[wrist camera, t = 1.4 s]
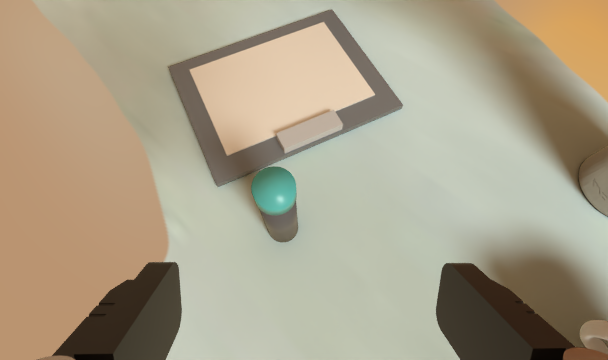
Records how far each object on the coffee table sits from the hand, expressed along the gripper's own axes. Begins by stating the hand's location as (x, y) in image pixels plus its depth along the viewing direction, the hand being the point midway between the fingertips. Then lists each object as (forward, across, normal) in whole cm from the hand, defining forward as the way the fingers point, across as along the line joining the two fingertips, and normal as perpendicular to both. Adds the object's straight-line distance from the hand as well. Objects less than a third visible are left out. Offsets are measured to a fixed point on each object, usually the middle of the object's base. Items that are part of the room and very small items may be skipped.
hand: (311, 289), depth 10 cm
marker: (+26, +1, +9) cm, 28 cm away
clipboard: (+39, +1, -6) cm, 39 cm away
